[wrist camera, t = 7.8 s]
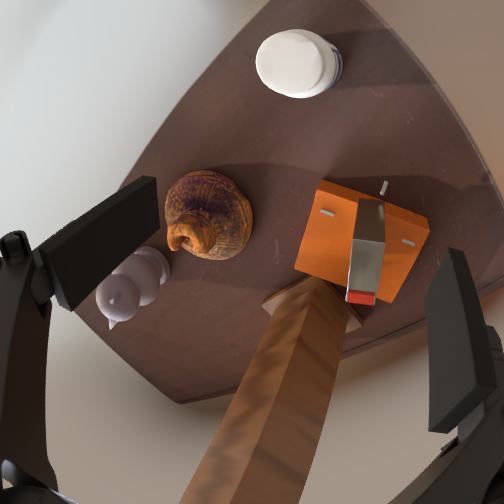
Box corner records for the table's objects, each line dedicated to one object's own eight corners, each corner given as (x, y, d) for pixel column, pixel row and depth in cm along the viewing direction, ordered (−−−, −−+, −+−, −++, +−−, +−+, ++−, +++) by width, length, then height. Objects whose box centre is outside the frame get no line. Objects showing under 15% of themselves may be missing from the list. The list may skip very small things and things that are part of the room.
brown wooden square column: (318, 268, 39) (171, 602, 9) (363, 321, 40) (275, 619, 11) (262, 300, 45) (118, 558, 15) (307, 345, 46) (204, 589, 17)
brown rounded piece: (265, 187, 35) (240, 215, 30) (242, 267, 43) (219, 302, 37) (176, 155, 37) (139, 176, 31) (167, 234, 44) (137, 262, 39)
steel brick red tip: (358, 197, 29) (351, 240, 23) (384, 200, 28) (385, 244, 22) (354, 251, 32) (345, 303, 26) (377, 254, 31) (374, 307, 25)
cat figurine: (137, 230, 46) (83, 275, 37) (179, 257, 46) (130, 310, 37) (130, 267, 52) (84, 312, 42) (168, 292, 51) (126, 343, 42)
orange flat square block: (437, 192, 28) (443, 204, 26) (391, 287, 36) (391, 304, 34) (329, 152, 31) (325, 160, 28) (299, 254, 38) (293, 269, 36)
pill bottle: (272, 60, 27) (232, 59, 20) (316, 25, 24) (291, 7, 16) (310, 103, 29) (284, 117, 21) (355, 70, 25) (349, 69, 17)
